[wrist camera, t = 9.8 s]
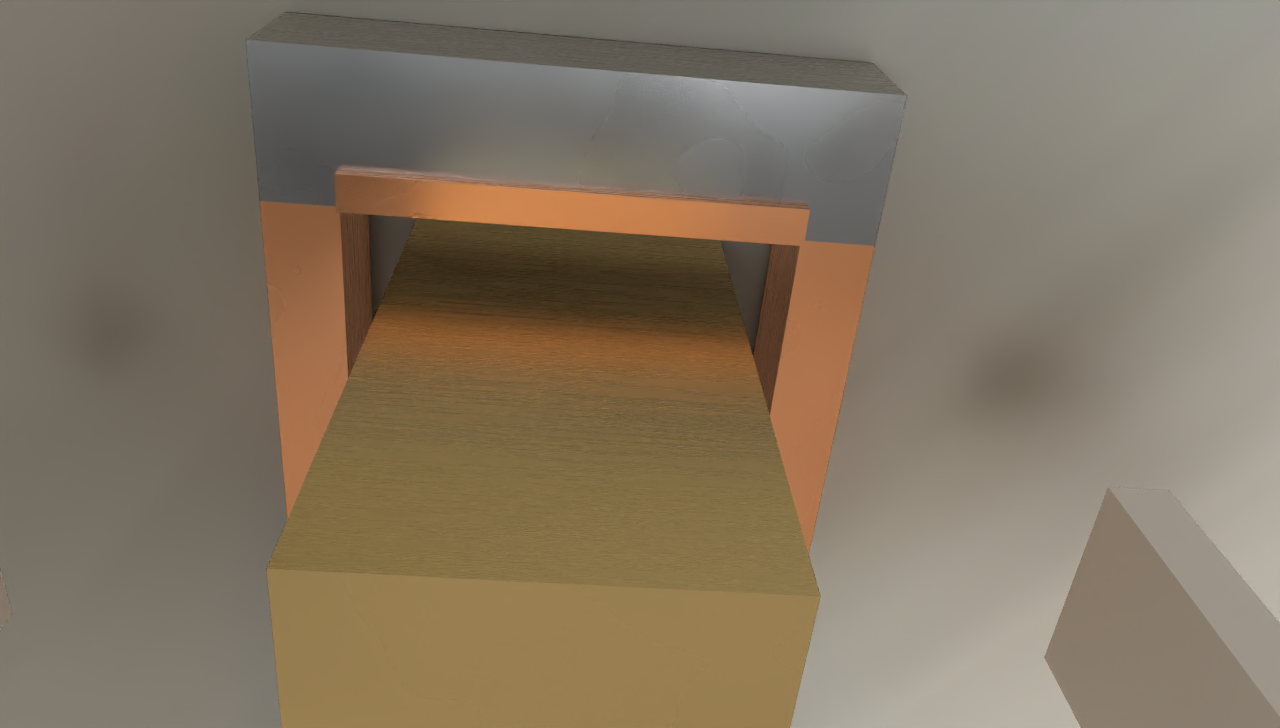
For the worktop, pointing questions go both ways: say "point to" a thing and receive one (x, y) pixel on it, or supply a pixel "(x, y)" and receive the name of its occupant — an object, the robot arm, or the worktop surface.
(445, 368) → the block
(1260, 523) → the worktop surface
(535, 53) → the grey slotted board
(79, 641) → the worktop surface
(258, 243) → the worktop surface
